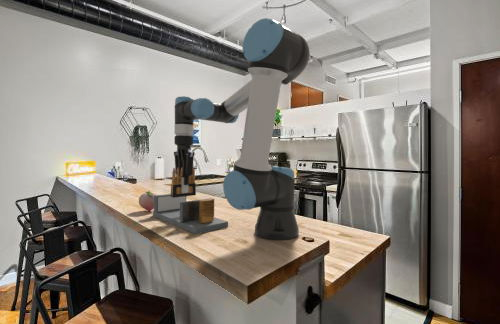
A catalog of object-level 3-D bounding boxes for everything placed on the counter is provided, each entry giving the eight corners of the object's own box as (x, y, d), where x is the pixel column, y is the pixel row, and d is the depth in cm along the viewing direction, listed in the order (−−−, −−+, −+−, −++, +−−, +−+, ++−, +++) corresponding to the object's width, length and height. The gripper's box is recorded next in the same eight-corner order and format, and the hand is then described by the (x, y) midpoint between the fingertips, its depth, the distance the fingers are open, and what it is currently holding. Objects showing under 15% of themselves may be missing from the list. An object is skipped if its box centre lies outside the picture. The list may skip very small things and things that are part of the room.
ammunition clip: (172, 197, 104) (172, 167, 104) (170, 197, 105) (170, 167, 105) (195, 195, 111) (196, 167, 111) (193, 194, 113) (194, 166, 112)
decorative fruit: (135, 210, 123) (135, 189, 123) (152, 208, 129) (152, 188, 129) (143, 214, 116) (143, 192, 116) (160, 211, 122) (161, 190, 122)
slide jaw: (223, 219, 100) (223, 198, 100) (190, 225, 90) (191, 202, 90) (210, 215, 106) (210, 195, 106) (179, 220, 97) (179, 199, 96)
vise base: (228, 226, 98) (228, 203, 98) (195, 234, 88) (195, 207, 88) (181, 211, 123) (182, 192, 123) (152, 215, 114) (152, 195, 114)
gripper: (201, 135, 105) (201, 193, 105) (183, 136, 116) (182, 189, 116) (184, 134, 100) (184, 195, 100) (167, 135, 110) (166, 191, 111)
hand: (183, 192), depth 108 cm, fingers closed on ammunition clip, 2 cm apart
